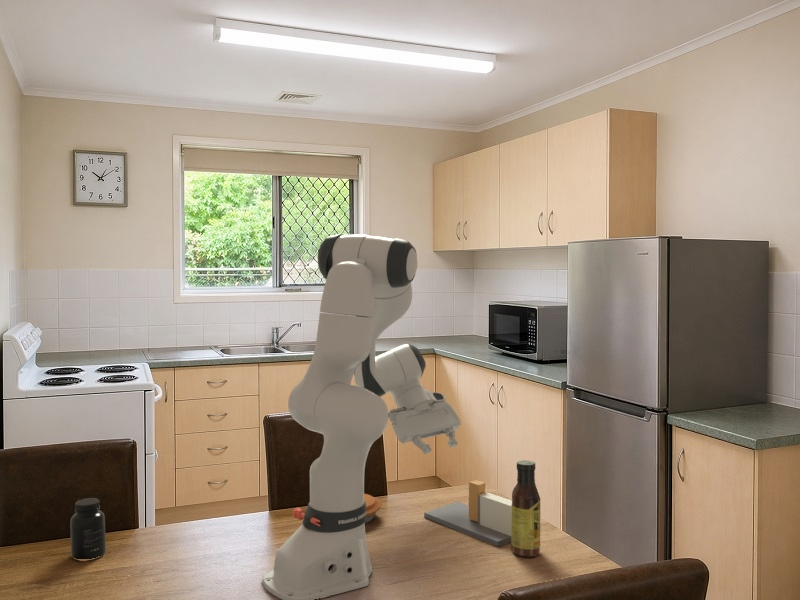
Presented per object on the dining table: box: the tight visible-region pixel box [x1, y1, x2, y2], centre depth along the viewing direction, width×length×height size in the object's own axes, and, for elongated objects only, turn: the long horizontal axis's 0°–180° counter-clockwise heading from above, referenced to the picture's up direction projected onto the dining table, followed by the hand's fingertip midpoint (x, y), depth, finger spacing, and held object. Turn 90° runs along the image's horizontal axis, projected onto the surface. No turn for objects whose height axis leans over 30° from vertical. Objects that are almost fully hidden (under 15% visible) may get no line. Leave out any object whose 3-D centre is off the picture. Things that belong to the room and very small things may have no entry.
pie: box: [364, 493, 383, 524], centre depth 171 cm, size 15×16×5 cm
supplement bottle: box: [69, 497, 107, 559], centre depth 149 cm, size 7×7×12 cm
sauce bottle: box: [510, 459, 541, 558], centre depth 150 cm, size 7×6×20 cm
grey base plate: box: [423, 491, 512, 548], centre depth 166 cm, size 12×24×8 cm, turn 41°
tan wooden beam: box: [468, 479, 486, 522], centre depth 166 cm, size 2×3×9 cm
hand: (441, 449), depth 174 cm, fingers open, 8 cm apart
